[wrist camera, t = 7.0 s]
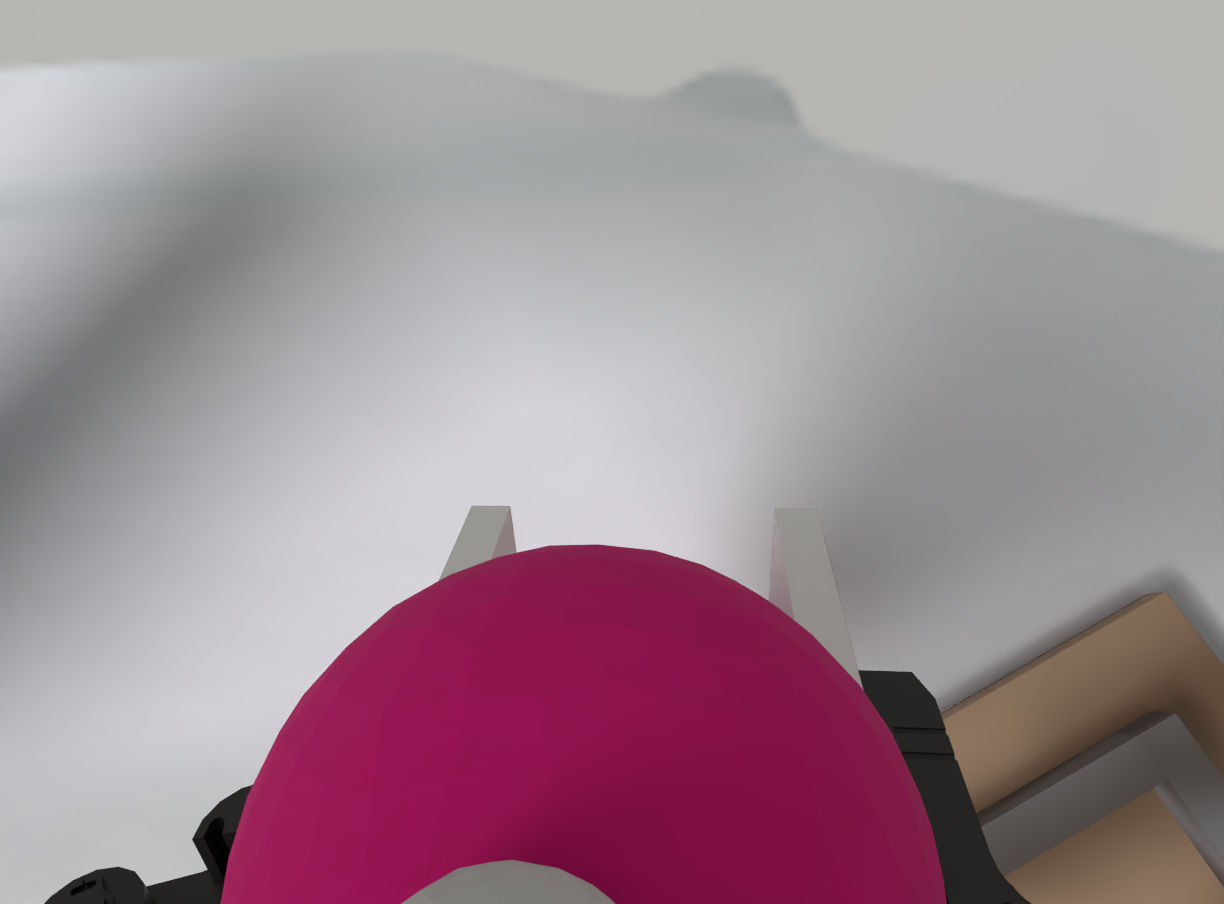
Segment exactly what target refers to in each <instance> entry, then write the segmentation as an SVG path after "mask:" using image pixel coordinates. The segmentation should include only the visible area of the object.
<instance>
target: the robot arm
mask: <svg viewBox="0 0 1224 904" xmlns="http://www.w3.org/2000/svg"><path fill="white" fill-rule="evenodd" d="M514 553H516V545H515V538H514V531H513V523H512V516H511V509H510V506H472V507H471V509H470V511H469V513H468V516H467V518H466V520H465V523H464V525H463V527H462V529H461V532H460V534H459V536H458V538H457V541H456V543H455V545H454V547H453V550H452V552H451V554H450V556H449V559H448V561H447V563H446V566H445V568H444V570H443V572H442V575H441V577H440V579H439V581H440V580H441V579H443V578H445V577H447V576H448V575H451V574H453V573H456V572H459V571H461V570H464V569H467V568H469V567H472V566H475V565H477V564H480V563H483V562H485V561H488V560H491V559H494V558H496V557H500V556H504V555H509V554H514ZM769 602H771V603H772V604H774V605H775V606H777V607H778V608H780V609H781V610H782V611H783V612H785V613H786V614H787V615H788V616H790V617H791V618H792V619H793V620H795V621H796V622H797V623H798V624H800V625H801V626H802V627H803V628H805V629H806V630H807V631H808V632H810V633H811V634H812V635H813V636H814V637H815V638H816V639H817V640H818V641H819V642H820V643H821V644H822V646H823V647H824V648H825V649H826V650H827V651H828V652H829V653H830V654H831V655H832V656H833V657H834V658H835V659H836V660H837V661H838V663H839V664H840V665H841V666H842V667H843V668H844V669H845V670H846V671H847V672H848V673H849V674H850V675H851V676H852V677H853V679H854V680H855V681H856V682H857V683H858V684H859V685H860V687H861V688H862V690H863V691H864V693H865V694H866V695H867V697H868V698H869V700H870V701H871V703H872V704H873V706H874V707H875V709H876V710H877V712H878V713H879V715H880V716H881V718H882V719H883V721H884V722H885V724H886V725H887V726H888V728H889V729H890V731H891V732H892V735H893V737H894V739H895V741H896V743H897V745H898V747H899V750H900V752H901V754H902V756H903V758H904V760H905V762H906V765H907V767H908V769H909V771H910V773H911V775H912V778H913V780H914V782H915V784H916V786H917V788H918V791H919V793H920V796H921V799H922V801H923V804H924V807H925V810H926V813H927V816H928V818H929V821H930V824H931V827H932V830H933V834H934V839H935V843H936V848H937V852H938V857H939V862H940V866H941V871H942V875H943V881H944V888H945V895H946V902H947V904H1031V903H1030V902H1029V901H1027V900H1026V899H1025V898H1024V897H1023V896H1022V895H1020V894H1019V893H1018V892H1017V891H1016V889H1015V888H1014V887H1013V885H1012V884H1010V883H1009V882H1008V881H1007V880H1006V879H1005V877H1004V876H1003V875H1002V873H1001V872H1000V871H999V869H998V867H997V865H996V863H995V861H994V859H993V857H992V855H991V853H990V850H989V848H988V845H987V842H986V839H985V836H984V834H983V831H982V828H981V825H980V823H979V820H978V817H977V814H976V811H975V809H974V806H973V803H972V800H971V797H970V795H969V792H968V789H967V786H966V783H965V781H964V778H963V775H962V772H961V770H960V767H959V764H958V761H957V760H955V753H954V750H953V747H952V744H951V742H950V739H949V736H948V735H946V728H945V725H944V722H943V719H942V717H941V714H940V711H939V708H938V705H937V703H936V700H935V698H934V697H933V696H932V695H931V693H930V692H929V691H928V690H927V689H926V688H925V687H924V685H923V684H922V683H921V682H920V681H919V680H918V679H917V677H916V676H915V675H914V674H913V673H912V672H894V671H861V670H858V668H857V664H856V660H855V656H854V652H853V648H852V644H851V640H850V636H849V632H848V629H847V625H846V621H845V617H844V613H843V609H842V605H841V601H840V597H839V594H838V590H837V586H836V582H835V578H834V574H833V570H832V566H831V562H830V559H829V555H828V551H827V547H826V543H825V539H824V535H823V531H822V527H821V523H820V520H819V516H818V512H817V509H775V520H774V534H773V549H772V563H771V578H770V592H769ZM252 786H253V785H251V786H248V787H245V788H242V789H240V790H238V791H237V792H235V793H233V794H232V795H230V796H229V797H227V798H225V799H224V800H222V801H220V802H219V803H218V804H217V805H216V806H215V808H214V809H213V810H212V811H211V812H210V813H209V814H208V815H207V816H206V817H205V818H204V819H203V820H202V822H201V824H200V826H199V828H198V829H197V831H196V833H195V835H194V837H193V839H192V840H193V842H194V844H195V846H196V848H197V849H198V851H199V853H200V855H201V857H202V859H203V861H204V863H205V865H206V867H207V869H208V870H206V871H203V872H201V873H197V874H193V875H189V876H185V877H181V878H178V879H174V880H170V881H166V882H162V883H158V884H154V885H151V886H147V887H146V886H145V884H144V883H143V881H142V880H141V879H140V878H139V876H138V875H137V874H136V872H135V871H131V870H128V869H124V868H121V867H114V868H106V869H99V870H96V871H93V872H91V873H89V874H86V875H84V876H82V877H80V878H77V879H75V880H73V881H72V882H70V883H69V884H68V885H66V886H65V887H63V888H62V889H61V890H59V891H58V892H57V893H55V894H54V895H52V896H51V897H50V898H49V899H48V900H47V901H46V902H45V904H221V899H222V893H223V887H224V882H225V876H226V870H227V864H228V858H229V855H230V852H231V848H232V845H233V842H234V839H235V835H236V832H237V829H238V826H239V822H240V819H241V816H242V813H243V809H244V806H245V803H246V800H247V796H248V794H249V792H250V790H251V788H252Z"/></svg>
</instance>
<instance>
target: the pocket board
mask: <svg viewBox="0 0 1224 904" xmlns="http://www.w3.org/2000/svg"><path fill="white" fill-rule="evenodd" d="M941 717H942V719H943V722H944V725H945V728H946V735H948V736H949V739H950V742H951V744H952V747H953V750H954V753H955V760H957V761H958V764H959V767H960V770H961V772H962V775H963V778H964V781H965V783H966V786H967V789H968V792H969V795H970V797H971V800H972V803H973V806H974V809H975V811H976V814H977V817H978V820H979V823H980V825H981V828H982V831H983V834H984V836H985V839H986V842H987V845H988V848H989V850H990V853H991V855H992V857H993V859H994V861H995V863H996V865H997V867H998V869H999V871H1000V872H1001V873H1002V875H1003V876H1004V877H1005V879H1006V880H1007V881H1008V882H1009V883H1010V884H1012V885H1013V887H1014V888H1015V889H1016V891H1017V892H1018V893H1019V894H1020V895H1022V896H1023V897H1024V898H1025V899H1026V900H1027V901H1029V902H1030V903H1031V904H1224V667H1223V665H1222V664H1221V663H1220V661H1219V660H1218V659H1217V658H1216V656H1215V655H1214V654H1213V652H1212V651H1211V650H1210V648H1209V647H1208V646H1207V645H1206V643H1205V642H1204V641H1203V639H1202V638H1201V637H1200V635H1199V634H1198V633H1197V632H1196V630H1195V629H1194V628H1193V626H1192V625H1191V624H1190V622H1189V621H1188V620H1187V619H1186V617H1185V616H1184V615H1183V613H1182V612H1181V611H1180V609H1179V608H1178V607H1177V606H1176V604H1175V603H1174V602H1173V600H1172V599H1171V598H1170V596H1169V595H1168V594H1167V593H1166V592H1161V593H1155V594H1149V595H1146V596H1144V597H1142V598H1141V599H1139V600H1137V601H1135V602H1134V603H1132V604H1130V605H1128V606H1127V607H1125V608H1123V609H1121V610H1120V611H1118V612H1116V613H1115V614H1113V615H1111V616H1109V617H1108V618H1106V619H1104V620H1102V621H1101V622H1099V623H1097V624H1096V625H1094V626H1092V627H1090V628H1089V629H1087V630H1085V631H1083V632H1082V633H1080V634H1078V635H1076V636H1075V637H1073V638H1071V639H1070V640H1068V641H1066V642H1064V643H1063V644H1061V645H1059V646H1057V647H1056V648H1054V649H1052V650H1050V651H1049V652H1047V653H1045V654H1044V655H1042V656H1040V657H1038V658H1037V659H1035V660H1033V661H1031V662H1030V663H1028V664H1026V665H1024V666H1023V667H1021V668H1019V669H1018V670H1016V671H1014V672H1012V673H1011V674H1009V675H1007V676H1005V677H1004V678H1002V679H1000V680H998V681H997V682H995V683H993V684H992V685H990V686H988V687H986V688H985V689H983V690H981V691H979V692H978V693H976V694H974V695H972V696H971V697H969V698H967V699H966V700H964V701H962V702H960V703H959V704H957V705H955V706H953V707H952V708H950V709H948V710H946V711H945V712H943V713H941Z"/></svg>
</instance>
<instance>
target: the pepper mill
mask: <svg viewBox="0 0 1224 904" xmlns="http://www.w3.org/2000/svg"><path fill="white" fill-rule="evenodd" d="M221 904H947V902H946V895H945V888H944V881H943V875H942V871H941V866H940V862H939V857H938V852H937V848H936V843H935V839H934V834H933V830H932V827H931V824H930V821H929V818H928V816H927V813H926V810H925V807H924V804H923V801H922V799H921V796H920V793H919V791H918V788H917V786H916V784H915V782H914V780H913V778H912V775H911V773H910V771H909V769H908V767H907V765H906V762H905V760H904V758H903V756H902V754H901V752H900V750H899V747H898V745H897V743H896V741H895V739H894V737H893V735H892V732H891V731H890V729H889V728H888V726H887V725H886V724H885V722H884V721H883V719H882V718H881V716H880V715H879V713H878V712H877V710H876V709H875V707H874V706H873V704H872V703H871V701H870V700H869V698H868V697H867V695H866V694H865V693H864V691H863V690H862V688H861V687H860V685H859V684H858V683H857V682H856V681H855V680H854V679H853V677H852V676H851V675H850V674H849V673H848V672H847V671H846V670H845V669H844V668H843V667H842V666H841V665H840V664H839V663H838V661H837V660H836V659H835V658H834V657H833V656H832V655H831V654H830V653H829V652H828V651H827V650H826V649H825V648H824V647H823V646H822V644H821V643H820V642H819V641H818V640H817V639H816V638H815V637H814V636H813V635H812V634H811V633H810V632H808V631H807V630H806V629H805V628H803V627H802V626H801V625H800V624H798V623H797V622H796V621H795V620H793V619H792V618H791V617H790V616H788V615H787V614H786V613H785V612H783V611H782V610H781V609H780V608H778V607H777V606H775V605H774V604H772V603H771V602H769V601H767V600H766V599H764V598H763V597H761V596H760V595H758V594H756V593H755V592H753V591H751V590H750V589H748V588H746V587H745V586H743V585H741V584H740V583H738V582H736V581H734V580H732V579H730V578H728V577H726V576H724V575H722V574H720V573H718V572H716V571H714V570H712V569H710V568H708V567H706V566H704V565H701V564H698V563H694V562H691V561H688V560H684V559H681V558H678V557H674V556H671V555H667V554H664V553H661V552H657V551H653V550H643V549H634V548H625V547H616V546H606V545H559V546H546V547H542V548H537V549H532V550H528V551H523V552H518V553H514V554H509V555H504V556H500V557H496V558H494V559H491V560H488V561H485V562H483V563H480V564H477V565H475V566H472V567H469V568H467V569H464V570H461V571H459V572H456V573H453V574H451V575H448V576H447V577H445V578H443V579H441V580H440V581H438V582H436V583H434V584H433V585H431V586H429V587H427V588H426V589H424V590H422V591H420V592H419V593H417V594H415V595H413V596H411V597H410V598H408V599H406V600H404V601H403V602H401V603H399V604H397V605H396V606H394V607H392V608H391V609H390V610H389V611H388V612H387V613H385V614H384V615H383V616H382V617H381V618H380V619H378V620H377V621H376V622H375V623H374V624H373V625H372V626H370V627H369V628H368V629H367V630H366V631H365V632H363V633H362V634H361V635H360V636H359V637H358V638H357V639H355V640H354V641H353V642H352V643H351V644H350V645H348V646H347V647H346V648H345V649H344V651H343V652H342V653H341V654H340V655H339V656H338V657H337V658H336V659H335V660H334V662H333V663H332V664H331V665H330V666H329V667H328V668H327V669H326V670H325V672H324V673H323V674H322V675H321V676H320V677H319V678H318V679H317V680H316V682H315V683H314V684H313V685H312V686H311V687H310V688H309V689H308V690H307V692H306V693H305V694H304V695H303V696H302V698H301V699H300V701H299V703H298V704H297V706H296V707H295V709H294V710H293V712H292V713H291V715H290V716H289V718H288V719H287V721H286V722H285V724H284V726H283V727H282V729H281V730H280V732H279V734H278V736H277V738H276V740H275V742H274V744H273V746H272V748H271V750H270V752H269V754H268V756H267V758H266V760H265V762H264V764H263V766H262V768H261V770H260V772H259V774H258V776H257V778H256V780H255V782H254V784H253V786H252V788H251V790H250V792H249V794H248V796H247V800H246V803H245V806H244V809H243V813H242V816H241V819H240V822H239V826H238V829H237V832H236V835H235V839H234V842H233V845H232V848H231V852H230V855H229V858H228V864H227V870H226V876H225V882H224V887H223V893H222V899H221Z"/></svg>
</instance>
